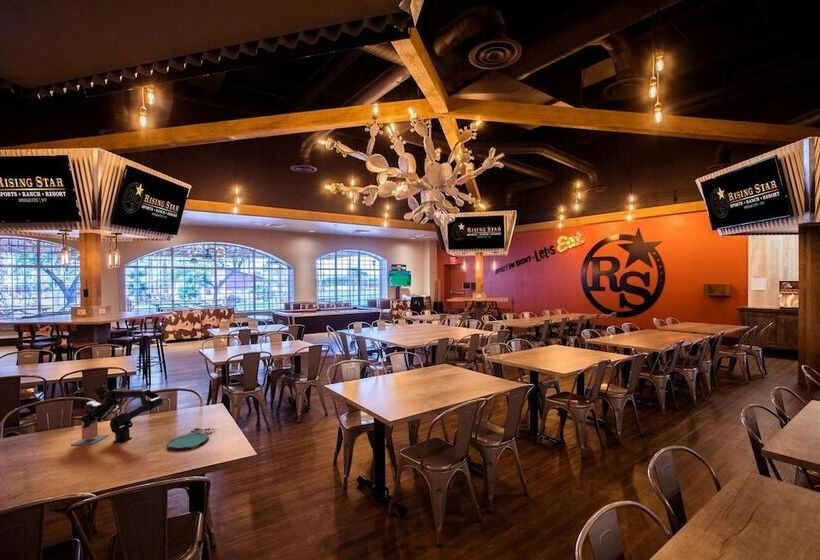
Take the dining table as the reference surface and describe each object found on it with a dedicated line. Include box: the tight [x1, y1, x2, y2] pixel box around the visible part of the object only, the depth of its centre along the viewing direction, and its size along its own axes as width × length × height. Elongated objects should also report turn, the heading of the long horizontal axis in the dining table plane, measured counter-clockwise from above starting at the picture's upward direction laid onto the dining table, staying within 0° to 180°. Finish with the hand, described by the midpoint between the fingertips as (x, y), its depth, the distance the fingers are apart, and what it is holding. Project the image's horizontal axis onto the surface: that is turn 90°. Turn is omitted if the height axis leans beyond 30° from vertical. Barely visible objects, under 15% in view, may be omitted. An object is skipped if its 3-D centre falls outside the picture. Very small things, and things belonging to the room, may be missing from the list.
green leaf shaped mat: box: [165, 427, 211, 450], centre depth 223 cm, size 20×30×2 cm, turn 178°
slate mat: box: [70, 434, 109, 447], centre depth 224 cm, size 12×12×1 cm
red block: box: [81, 419, 99, 440], centre depth 224 cm, size 5×5×10 cm
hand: (87, 426), depth 224 cm, fingers closed on red block, 5 cm apart
